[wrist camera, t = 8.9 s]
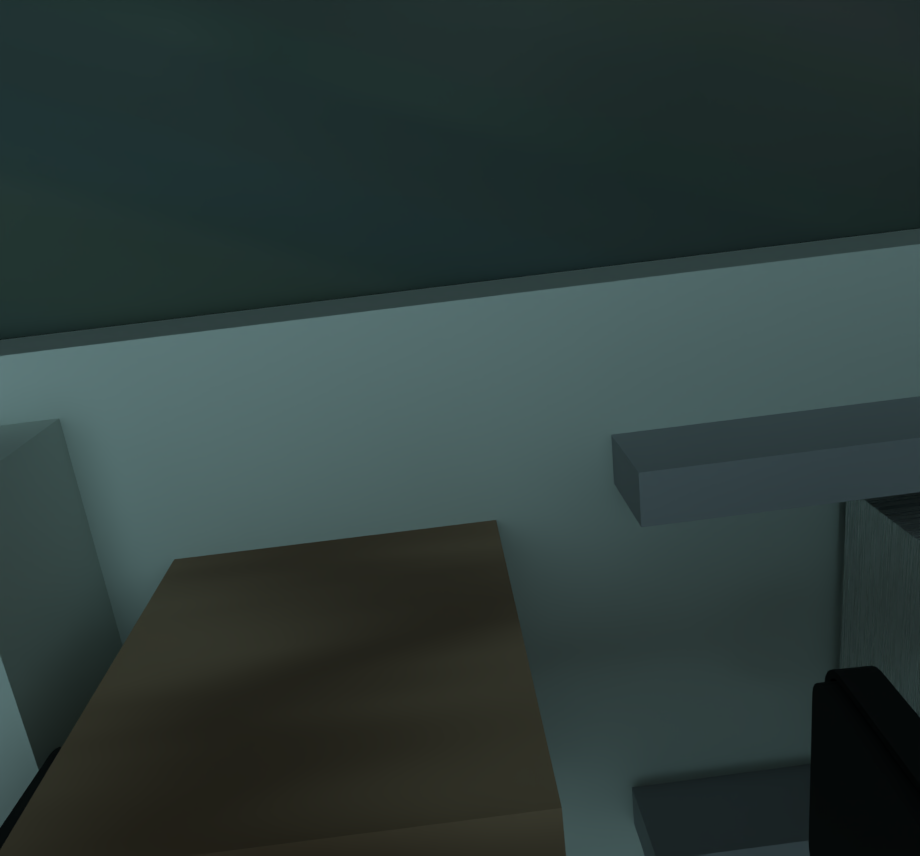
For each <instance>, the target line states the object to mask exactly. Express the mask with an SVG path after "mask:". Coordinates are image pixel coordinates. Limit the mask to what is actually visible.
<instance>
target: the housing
mask: <svg viewBox="0 0 920 856" xmlns="http://www.w3.org/2000/svg"><path fill="white" fill-rule="evenodd" d="M0 856H566V849H565V838H564V827H563V815H562V806H561V802H560V798H559V793H558V789H557V784H556V780H555V776H554V771H553V767H552V763H551V758H550V754H549V749H548V745H547V741H546V736H545V732H544V728H543V723H542V719H541V714H540V710H539V706H538V701H537V697H536V693H535V688H534V684H533V679H532V675H531V671H530V666H529V662H528V658H527V653H526V649H525V644H524V640H523V636H522V631H521V627H520V622H519V618H518V614H517V609H516V605H515V601H514V596H513V592H512V587H511V583H510V579H509V574H508V570H507V566H506V561H505V557H504V552H503V548H502V544H501V539H500V535H499V531H498V526H497V522H496V520H491V521H483V522H474V523H466V524H458V525H450V526H442V527H434V528H426V529H417V530H409V531H401V532H393V533H385V534H377V535H368V536H360V537H352V538H344V539H336V540H328V541H320V542H311V543H303V544H295V545H287V546H279V547H271V548H262V549H254V550H246V551H238V552H230V553H222V554H214V555H205V556H197V557H189V558H181V559H174V561H173V562H172V564H171V566H170V567H169V569H168V571H167V572H166V574H165V576H164V577H163V579H162V581H161V582H160V584H159V586H158V587H157V589H156V591H155V592H154V594H153V596H152V597H151V599H150V601H149V602H148V604H147V606H146V607H145V609H144V611H143V612H142V614H141V616H140V617H139V619H138V621H137V622H136V624H135V626H134V627H133V629H132V631H131V632H130V634H129V636H128V637H127V639H126V641H125V642H124V644H123V646H122V647H121V649H120V651H119V652H118V654H117V656H116V657H115V659H114V661H113V662H112V664H111V666H110V667H109V669H108V671H107V672H106V674H105V676H104V677H103V679H102V681H101V682H100V684H99V686H98V687H97V689H96V691H95V692H94V694H93V696H92V697H91V699H90V701H89V702H88V704H87V706H86V707H85V709H84V711H83V712H82V714H81V716H80V717H79V719H78V721H77V722H76V724H75V726H74V727H73V729H72V731H71V732H70V734H69V736H68V737H67V739H66V741H65V742H64V744H63V746H62V747H61V749H60V751H59V752H58V754H57V756H56V758H55V759H54V761H53V763H52V764H51V766H50V768H49V769H48V771H47V773H46V774H45V776H44V778H43V779H42V781H41V783H40V784H39V786H38V788H37V789H36V791H35V793H34V794H33V796H32V798H31V799H30V801H29V803H28V804H27V806H26V808H25V809H24V811H23V813H22V814H21V816H20V818H19V819H18V821H17V823H16V824H15V826H14V828H13V829H12V831H11V833H10V834H9V836H8V838H7V839H6V841H5V843H4V844H3V846H2V848H1V849H0Z"/></svg>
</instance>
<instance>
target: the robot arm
mask: <svg viewBox="0 0 920 856" xmlns="http://www.w3.org/2000/svg"><path fill="white" fill-rule="evenodd" d="M61 747H62V746H61ZM61 747H58V748H56V749H54V750H53V751H52V752H51V754H50V755H49V756H48V758H47V759H46V761H45V762H44V764H43V765H42V767H41V768H40V769H39V771H38V772H37V774H36V775H35V777H34V778H33V780H32V781H31V783H30V784H29V786H28V787H27V789H26V790H25V792H24V793H23V795H22V796H21V798H20V799H19V801H18V802H17V803H16V805H15V806H14V808H13V809H12V811H11V812H10V814H9V815H8V817H7V818H6V820H5V821H4V823H3V824H2V826H1V827H0V849H1V848H2V846H3V844H4V843H5V841H6V839H7V838H8V836H9V834H10V833H11V831H12V829H13V828H14V826H15V824H16V823H17V821H18V819H19V818H20V816H21V814H22V813H23V811H24V809H25V808H26V806H27V804H28V803H29V801H30V799H31V798H32V796H33V794H34V793H35V791H36V789H37V788H38V786H39V784H40V783H41V781H42V779H43V778H44V776H45V774H46V773H47V771H48V769H49V768H50V766H51V764H52V763H53V761H54V759H55V758H56V756H57V754H58V752H59V751H60V749H61ZM809 853H810V856H920V717H919V716H918V715H917V713H916V712H915V711H914V710H913V709H912V707H911V706H910V705H909V704H908V703H907V701H906V700H905V699H904V698H903V697H902V695H901V694H900V693H899V692H898V691H897V689H896V688H895V687H894V686H893V684H892V683H891V682H890V681H889V680H888V678H887V677H886V676H885V675H884V674H883V672H882V671H881V670H880V669H878V668H877V667H875V666H862V667H852V668H842V669H832V670H829V671H827V674H826V676H825V682H820V683H816V684H814V686H813V691H812V724H811V765H810V806H809Z"/></svg>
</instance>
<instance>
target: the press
mask: <svg viewBox="0 0 920 856" xmlns="http://www.w3.org/2000/svg"><path fill="white" fill-rule="evenodd" d="M917 492H920V228H919V229H911V230H902V231H894V232H886V233H878V234H869V235H861V236H853V237H845V238H837V239H828V240H820V241H812V242H804V243H795V244H787V245H779V246H771V247H762V248H754V249H746V250H738V251H729V252H721V253H713V254H705V255H696V256H688V257H680V258H672V259H664V260H655V261H647V262H639V263H631V264H622V265H614V266H606V267H598V268H589V269H581V270H573V271H565V272H556V273H548V274H540V275H532V276H523V277H515V278H507V279H499V280H491V281H482V282H474V283H466V284H458V285H449V286H441V287H433V288H425V289H416V290H408V291H400V292H392V293H383V294H375V295H367V296H359V297H351V298H342V299H334V300H326V301H318V302H309V303H301V304H293V305H285V306H276V307H268V308H260V309H252V310H243V311H235V312H227V313H219V314H210V315H202V316H194V317H186V318H178V319H169V320H161V321H153V322H145V323H136V324H128V325H120V326H112V327H103V328H95V329H87V330H79V331H70V332H62V333H54V334H46V335H37V336H29V337H21V338H13V339H5V340H0V827H1V826H2V824H3V823H4V821H5V820H6V818H7V817H8V815H9V814H10V812H11V811H12V809H13V808H14V806H15V805H16V803H17V802H18V801H19V799H20V798H21V796H22V795H23V793H24V792H25V790H26V789H27V787H28V786H29V784H30V783H31V781H32V780H33V778H34V777H35V775H36V774H37V772H38V771H39V769H40V768H41V767H42V765H43V764H44V762H45V761H46V759H47V758H48V756H49V755H50V754H51V752H52V751H53V750H54V749H56V748H58V747H61V746H63V744H64V742H65V741H66V739H67V737H68V736H69V734H70V732H71V731H72V729H73V727H74V726H75V724H76V722H77V721H78V719H79V717H80V716H81V714H82V712H83V711H84V709H85V707H86V706H87V704H88V702H89V701H90V699H91V697H92V696H93V694H94V692H95V691H96V689H97V687H98V686H99V684H100V682H101V681H102V679H103V677H104V676H105V674H106V672H107V671H108V669H109V667H110V666H111V664H112V662H113V661H114V659H115V657H116V656H117V654H118V652H119V651H120V649H121V647H122V646H123V644H124V642H125V641H126V639H127V637H128V636H129V634H130V632H131V631H132V629H133V627H134V626H135V624H136V622H137V621H138V619H139V617H140V616H141V614H142V612H143V611H144V609H145V607H146V606H147V604H148V602H149V601H150V599H151V597H152V596H153V594H154V592H155V591H156V589H157V587H158V586H159V584H160V582H161V581H162V579H163V577H164V576H165V574H166V572H167V571H168V569H169V567H170V566H171V564H172V562H173V561H174V559H181V558H189V557H197V556H205V555H214V554H222V553H230V552H238V551H246V550H254V549H262V548H271V547H279V546H287V545H295V544H303V543H311V542H320V541H328V540H336V539H344V538H352V537H360V536H368V535H377V534H385V533H393V532H401V531H409V530H417V529H426V528H434V527H442V526H450V525H458V524H466V523H474V522H483V521H491V520H496V522H497V526H498V531H499V535H500V539H501V544H502V548H503V552H504V557H505V561H506V566H507V570H508V574H509V579H510V583H511V587H512V592H513V596H514V601H515V605H516V609H517V614H518V618H519V622H520V627H521V631H522V636H523V640H524V644H525V649H526V653H527V658H528V662H529V666H530V671H531V675H532V679H533V684H534V688H535V693H536V697H537V701H538V706H539V710H540V714H541V719H542V723H543V728H544V732H545V736H546V741H547V745H548V749H549V754H550V758H551V763H552V767H553V771H554V776H555V780H556V784H557V789H558V793H559V798H560V802H561V806H562V815H563V827H564V838H565V849H566V856H810V853H809V806H810V765H811V724H812V691H813V686H814V684H816V683H820V682H825V676H826V674H827V671H829V670H832V669H840V653H841V626H842V598H843V571H844V544H845V517H846V501H854V500H862V499H870V498H878V497H885V496H893V495H901V494H909V493H917Z"/></svg>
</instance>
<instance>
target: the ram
mask: <svg viewBox="0 0 920 856" xmlns="http://www.w3.org/2000/svg"><path fill="white" fill-rule="evenodd" d="M862 666H875V667H877V668H878V669H880V670H881V671H882V672H883V674H884V675H885V676H886V677H887V678H888V680H889V681H890V682H891V683H892V684H893V686H894V687H895V688H896V689H897V691H898V692H899V693H900V694H901V695H902V697H903V698H904V699H905V700H906V701H907V703H908V704H909V705H910V706H911V707H912V709H913V710H914V711H915V712H916V713H917V715H918V716H919V717H920V492H917V493H909V494H901V495H893V496H885V497H878V498H870V499H862V500H854V501H846V517H845V544H844V571H843V598H842V626H841V653H840V669H842V668H852V667H862Z"/></svg>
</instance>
